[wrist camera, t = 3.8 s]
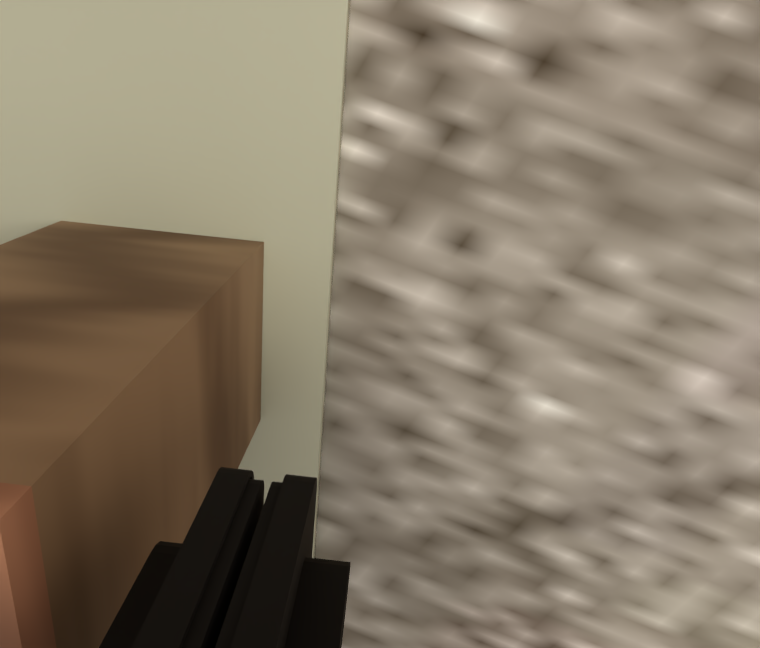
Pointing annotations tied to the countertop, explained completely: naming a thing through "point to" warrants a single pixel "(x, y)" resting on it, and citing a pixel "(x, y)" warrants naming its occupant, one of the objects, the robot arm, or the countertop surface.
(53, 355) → the copper block
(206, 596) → the robot arm
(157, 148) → the mat
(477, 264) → the countertop surface
